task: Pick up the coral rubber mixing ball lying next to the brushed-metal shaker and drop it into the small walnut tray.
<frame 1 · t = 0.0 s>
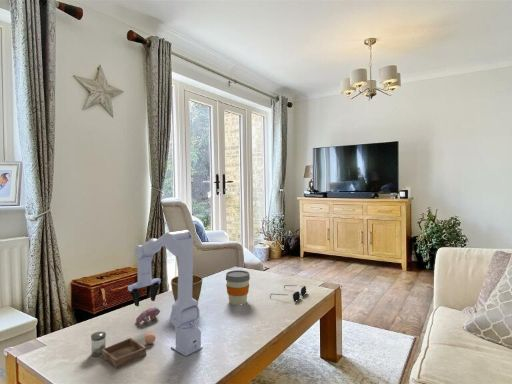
hand: (145, 303, 139), 10 cm above the table, fingers open, 7 cm apart
ball: (149, 338, 124), point 2 cm above the table
plant pot: (187, 312, 154), on the table
shaker: (98, 353, 117), on the table
sunglasses: (288, 296, 176), on the table
video game controller: (148, 321, 145), on the table
tray: (124, 356, 115), on the table
reusable coffee cup: (237, 302, 167), on the table
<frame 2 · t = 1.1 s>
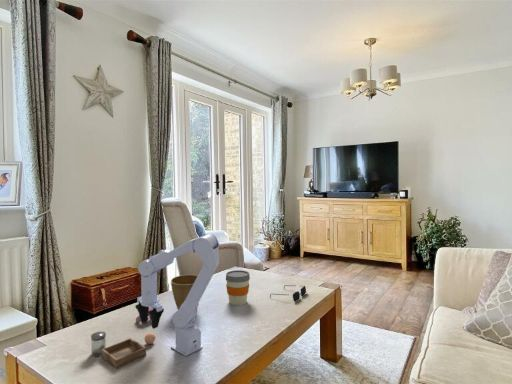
hand: (149, 324, 124), 7 cm above the table, fingers open, 7 cm apart
nothing on the table moved.
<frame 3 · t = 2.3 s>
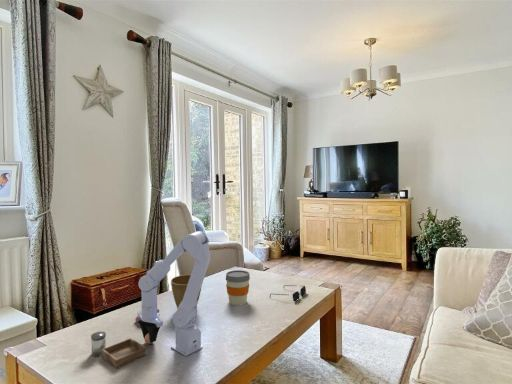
hand: (149, 339, 124), 1 cm above the table, fingers closed on ball, 4 cm apart
ball: (149, 338, 124), point 2 cm above the table, touching gripper
everything else where it was.
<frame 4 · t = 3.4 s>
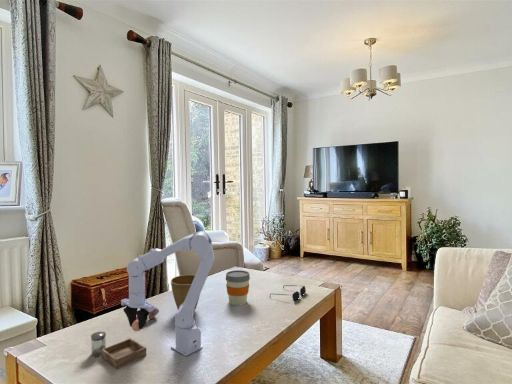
hand: (137, 326, 120), 9 cm above the table, fingers closed on ball, 4 cm apart
ball: (137, 325, 120), point 9 cm above the table, touching gripper
everything else where it was.
when the fingers open (3 cm above the table, at t = 4.9 s): ball drops 1 cm, resting on tray.
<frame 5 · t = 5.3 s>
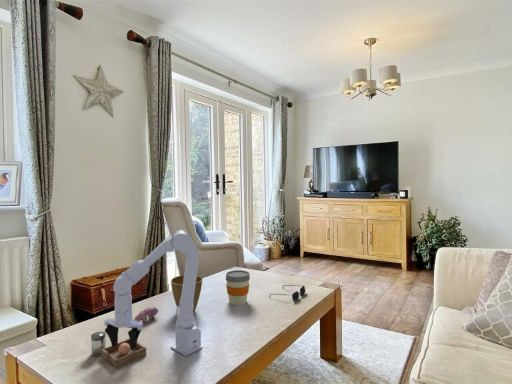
hand: (124, 346, 115), 3 cm above the table, fingers open, 7 cm apart
ball: (124, 349, 115), point 3 cm above the table, touching tray
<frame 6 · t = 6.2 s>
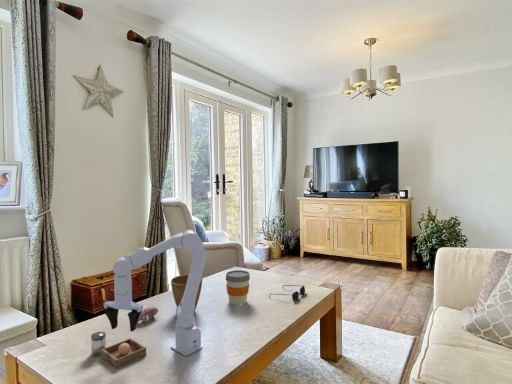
hand: (123, 329, 115), 10 cm above the table, fingers open, 7 cm apart
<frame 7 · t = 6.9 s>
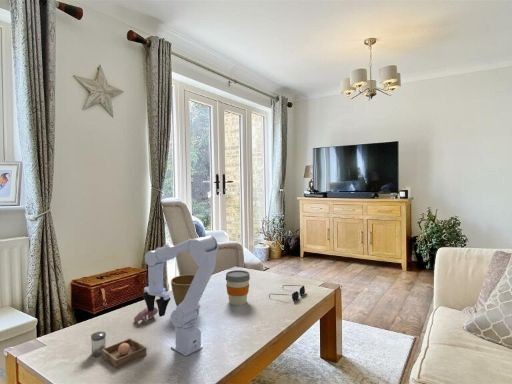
hand: (156, 313, 128), 10 cm above the table, fingers open, 7 cm apart
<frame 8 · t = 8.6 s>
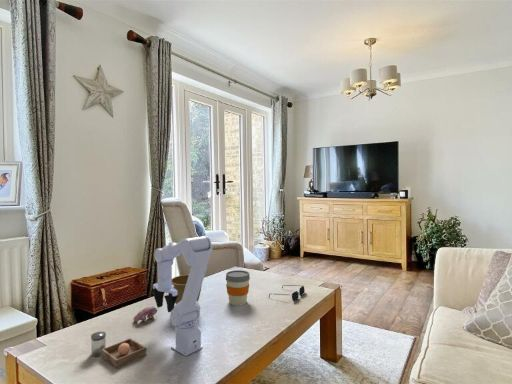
hand: (165, 309, 133), 10 cm above the table, fingers open, 7 cm apart
at the end: ball inside the target area on the tray (0.0 cm from its centre), point 2.6 cm above the tray's base; the gripper is holding nothing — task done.
